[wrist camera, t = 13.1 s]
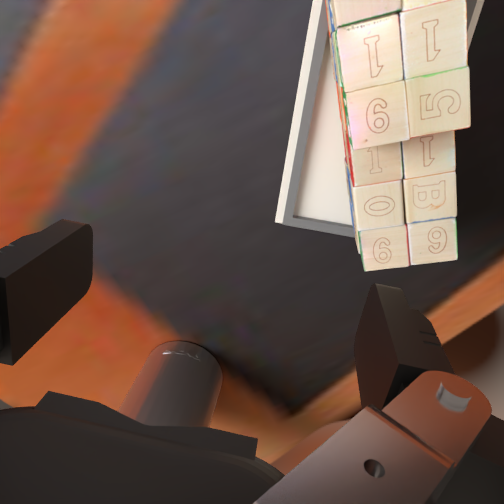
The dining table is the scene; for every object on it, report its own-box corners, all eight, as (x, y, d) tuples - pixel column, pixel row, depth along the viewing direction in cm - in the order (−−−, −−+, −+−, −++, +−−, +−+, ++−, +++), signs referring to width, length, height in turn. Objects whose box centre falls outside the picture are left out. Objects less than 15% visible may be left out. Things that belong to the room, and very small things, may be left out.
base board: (403, 240, 40) (407, 248, 38) (276, 217, 41) (274, 225, 39) (514, -112, 29) (527, -123, 27) (336, -133, 29) (337, -146, 28)
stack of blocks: (425, 215, 36) (473, 284, 25) (351, 225, 38) (365, 295, 27) (411, -87, 28) (473, -179, 17) (317, -61, 30) (317, -131, 18)
